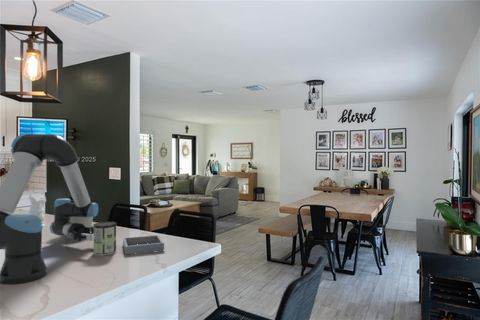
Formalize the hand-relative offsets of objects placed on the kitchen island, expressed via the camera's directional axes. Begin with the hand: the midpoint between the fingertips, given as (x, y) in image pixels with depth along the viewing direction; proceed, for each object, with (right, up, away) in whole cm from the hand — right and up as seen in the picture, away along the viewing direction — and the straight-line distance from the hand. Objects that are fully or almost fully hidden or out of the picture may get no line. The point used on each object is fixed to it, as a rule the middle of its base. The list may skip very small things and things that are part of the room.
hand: (103, 234), depth 158 cm
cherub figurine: (-65, -8, +54) cm, 85 cm away
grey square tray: (+17, -8, +7) cm, 20 cm away
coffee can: (+1, -9, -1) cm, 9 cm away
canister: (-30, -8, +36) cm, 48 cm away
